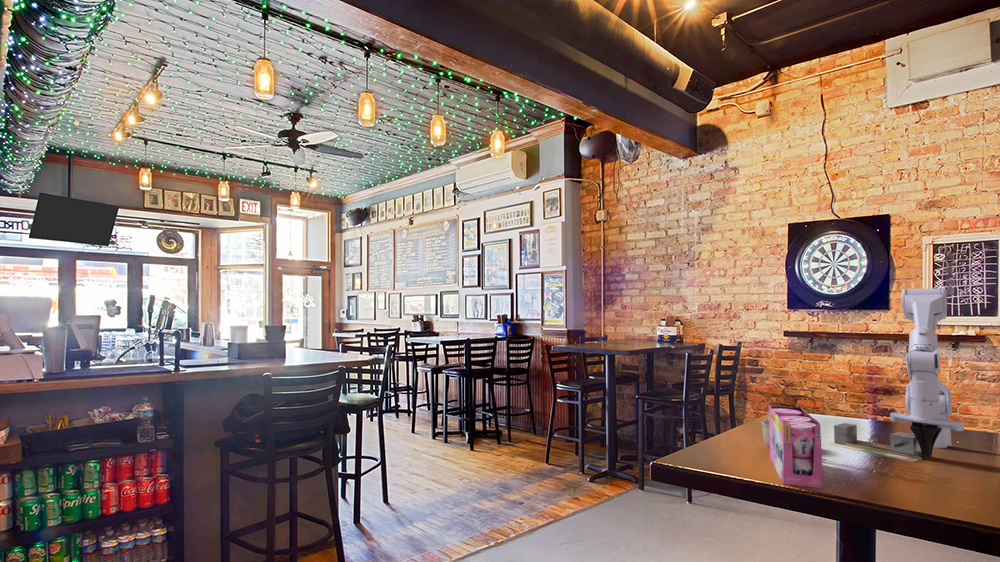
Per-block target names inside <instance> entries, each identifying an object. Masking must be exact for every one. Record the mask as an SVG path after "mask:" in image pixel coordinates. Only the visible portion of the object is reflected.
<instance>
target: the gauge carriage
mask: <svg viewBox="0 0 1000 562" xmlns="http://www.w3.org/2000/svg"><path fill="white" fill-rule="evenodd" d="M889 436H890V438H889V440H890V441H889V443H890V445H889V446H891V449H890V452H895V453H900V454H905V455H911V456H916V457H923V455H922V452H921V448H920V446H919V443H918V441H917V439H916V437H915V435H914V434H913V433H907V432H902V431H897V432H894V433H893V432H892V433H889Z"/></svg>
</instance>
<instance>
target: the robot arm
mask: <svg viewBox="0 0 1000 562" xmlns="http://www.w3.org/2000/svg"><path fill="white" fill-rule="evenodd" d="M900 293H901V296H900V297H901V298H900V299H901V308H902V312H903V315H904V318H905V319H907V320H910V321H912V322H913V324H914V328H913V329H912V330H910V332H909V335H908V336H909V337H908V352H906V355H905V361H906V363H905V364H906V365H905V366H906V370H907V376H908V381H909V383H908V384H907V385H906V386H905V410H906V412H907V413H903V412H901V413H900V412H890V414H889V418H890V420H889V421H890V422H899V423H900V422H901V423H907V424H911V425H910V426H909V428H910V431H911V432H912V434H914V435H915V437H916V439H917V441H918V443H919V446H920V448H921V452H922V455H924V457H927V456H931V455H933V449H946V448H948V446H949V447H952V430H953V431H956V432H957V431H958V432H963V431H965V422H964V421H957V420H952V419H947V417H952V416H953V411H952V409H953V407H952V405H953V404H952V395H951V389H950V388H949V386H948V385H946V384H944V383H943V382H941V381H939V375H940V374H941V357H940V352H939V349H938V344H939V343H938V334H937V332H936V327H937V325H938V322H940V321H942V320H945V319H946V318H947V317H946V316H947V315H948V314H947V311H948V310H947V309H948V298H947V294H948V293H947V289H945V287H941V288H939V287H938V288H936V287H935V288H903V289H902V290H901V292H900Z"/></svg>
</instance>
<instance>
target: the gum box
mask: <svg viewBox="0 0 1000 562" xmlns="http://www.w3.org/2000/svg"><path fill="white" fill-rule="evenodd" d="M768 418H769V438H770V448H769V459H770V462H771V463H772V465H773V466H774V469H775V470H776V473H777V474H778V476H779V479H780V480H781V481H782V484H783V485H788V486H790V485H791V486H796V485H797V487H806V488H807V487H808V488H816V489H823V488H824V483H823V482H824V480H823V479H824V478H823V476H824V475H823V453H822V452H823V451H822V449H823V448H822V433H821V423H820V422H819V421H818V420H817V419H816V418H814V417H813V416H812V415H810V414H809V413H808V412H807V411H806V410H805V409H804V408H803V407H800V406H785V405H783V406H782V405H781V406H780V405H768Z"/></svg>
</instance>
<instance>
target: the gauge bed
mask: <svg viewBox="0 0 1000 562" xmlns="http://www.w3.org/2000/svg"><path fill="white" fill-rule="evenodd" d="M857 429H858V428H857V424H852V423H846V422H843V423H840V424H839V423H838V424H835V425H833V435H834V437H833V438H834V441H833V442H828V443H826V444H827V445H828V446H832V447H836V448H837V447H838V448H843V449H848V450H853V451H857V452H862V453H867V454H871V455H877V456H881V457H887V458H893V459H896V460H902V461H906V462H907V461H908V462H913V463H915V462H922V461H923V459H922V457H923V456H924V455H923V456H920V457H916V456H911V455H905V454H900V453H895V452H891V446H890V445H887V444H881V443H875V442H871V441H866V440H858V430H857ZM858 444H860V445H858ZM863 445H866V446H863ZM869 446H871V447H869ZM873 447H874V448H873ZM875 447H876V448H875ZM880 448H882V449H880ZM883 449H886V450H883ZM889 450H890V451H889ZM924 457H925V456H924ZM926 457H928V458H933V454H932V455H931V456H926Z"/></svg>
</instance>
